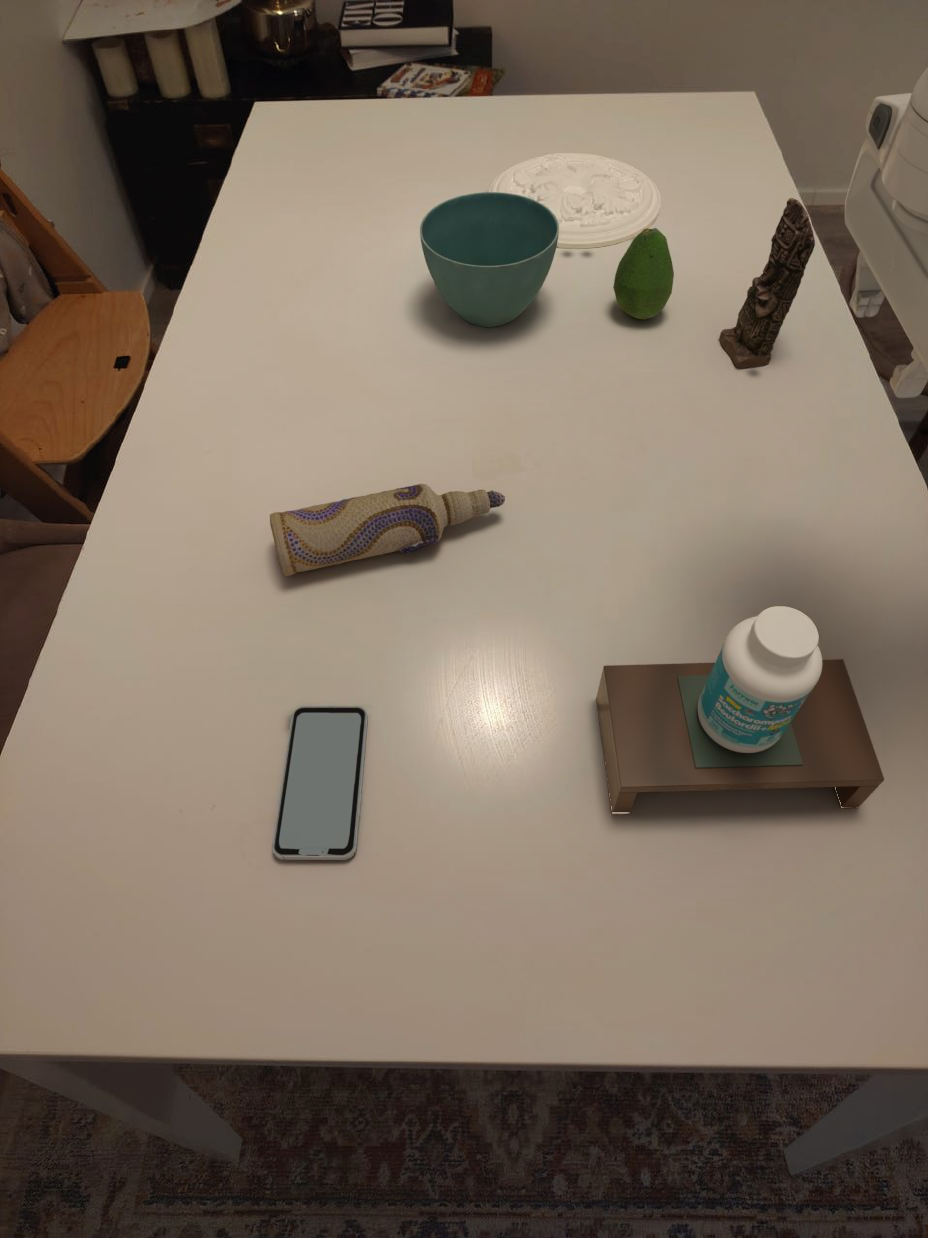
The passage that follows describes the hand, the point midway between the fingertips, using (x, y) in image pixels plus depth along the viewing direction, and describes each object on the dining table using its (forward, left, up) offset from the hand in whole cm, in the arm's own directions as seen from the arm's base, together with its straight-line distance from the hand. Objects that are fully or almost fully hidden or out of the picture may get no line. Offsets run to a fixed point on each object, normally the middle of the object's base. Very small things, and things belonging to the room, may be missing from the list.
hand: (881, 349), depth 62 cm
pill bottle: (+8, +17, -25) cm, 32 cm away
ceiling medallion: (+12, -82, -31) cm, 88 cm away
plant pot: (+27, -53, -31) cm, 67 cm away
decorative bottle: (+40, -9, -31) cm, 52 cm away
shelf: (+8, +17, -31) cm, 37 cm away
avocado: (+6, -51, -31) cm, 60 cm away
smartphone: (+45, +19, -31) cm, 58 cm away
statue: (-8, -42, -31) cm, 53 cm away
